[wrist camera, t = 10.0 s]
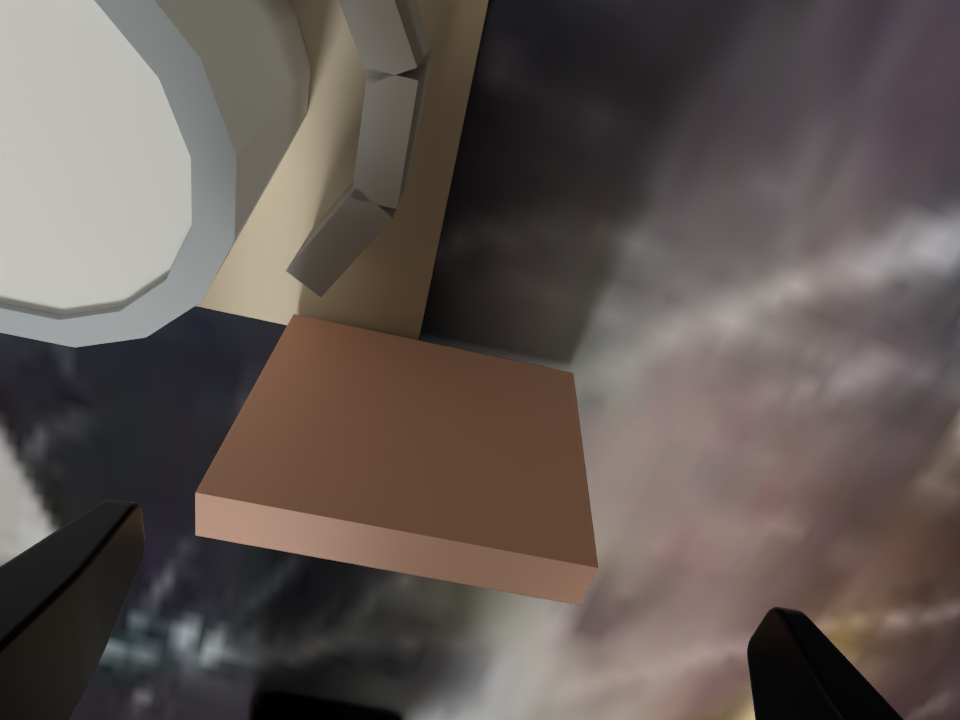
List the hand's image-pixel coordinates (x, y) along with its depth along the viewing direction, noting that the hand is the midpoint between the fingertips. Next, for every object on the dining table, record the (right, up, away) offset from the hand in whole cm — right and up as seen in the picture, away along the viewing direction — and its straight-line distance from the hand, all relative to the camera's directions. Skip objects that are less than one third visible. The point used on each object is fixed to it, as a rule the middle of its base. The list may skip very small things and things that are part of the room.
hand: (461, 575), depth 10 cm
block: (-1, +3, +11) cm, 11 cm away
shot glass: (-6, +10, +6) cm, 13 cm away
